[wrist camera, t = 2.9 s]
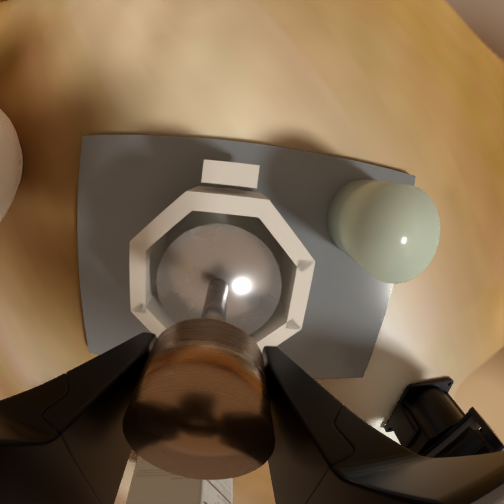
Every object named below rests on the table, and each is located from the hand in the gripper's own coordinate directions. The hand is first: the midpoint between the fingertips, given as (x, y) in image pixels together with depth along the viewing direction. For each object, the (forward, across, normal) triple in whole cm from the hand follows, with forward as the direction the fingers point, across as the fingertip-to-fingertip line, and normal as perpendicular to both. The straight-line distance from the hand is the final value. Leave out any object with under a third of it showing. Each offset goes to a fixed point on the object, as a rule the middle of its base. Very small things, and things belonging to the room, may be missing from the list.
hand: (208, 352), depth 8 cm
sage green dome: (+10, -8, -4) cm, 14 cm away
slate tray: (+11, -1, +1) cm, 11 cm away
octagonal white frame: (+10, 0, 0) cm, 10 cm away
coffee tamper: (+6, 0, 0) cm, 6 cm away
